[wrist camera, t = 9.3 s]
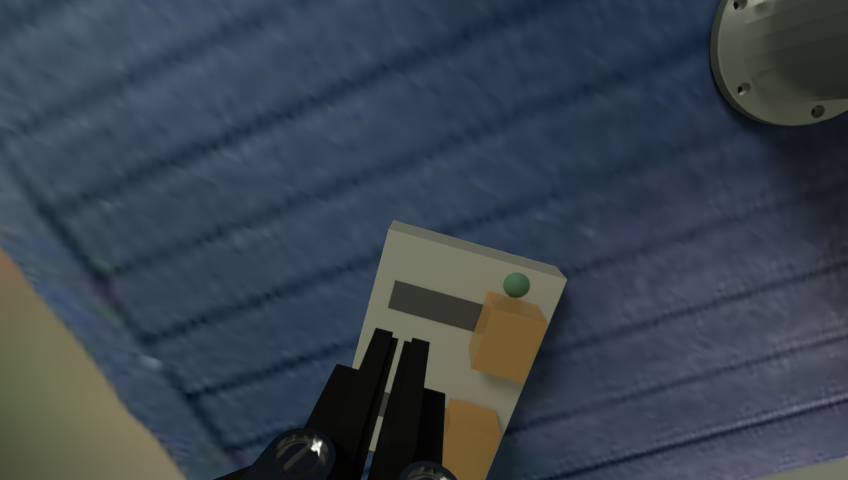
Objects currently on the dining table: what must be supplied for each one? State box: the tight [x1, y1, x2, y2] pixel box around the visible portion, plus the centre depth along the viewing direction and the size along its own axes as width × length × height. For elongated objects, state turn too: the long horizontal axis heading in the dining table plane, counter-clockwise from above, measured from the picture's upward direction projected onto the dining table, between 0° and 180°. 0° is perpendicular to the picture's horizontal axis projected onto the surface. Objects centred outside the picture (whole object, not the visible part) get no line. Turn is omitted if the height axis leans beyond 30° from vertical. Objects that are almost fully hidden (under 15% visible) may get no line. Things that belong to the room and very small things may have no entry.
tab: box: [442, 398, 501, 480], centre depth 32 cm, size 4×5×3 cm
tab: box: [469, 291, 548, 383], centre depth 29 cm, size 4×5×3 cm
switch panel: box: [352, 220, 567, 480], centre depth 34 cm, size 14×20×3 cm
